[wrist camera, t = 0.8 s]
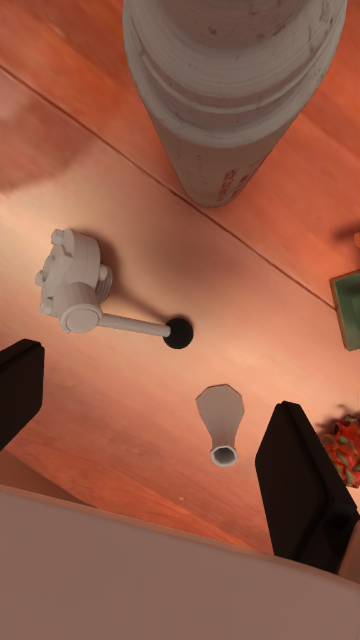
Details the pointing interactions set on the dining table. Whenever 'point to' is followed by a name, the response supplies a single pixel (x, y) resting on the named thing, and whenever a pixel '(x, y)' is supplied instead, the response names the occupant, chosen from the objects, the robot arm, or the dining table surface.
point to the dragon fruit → (345, 451)
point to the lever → (357, 239)
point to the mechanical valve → (91, 292)
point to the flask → (221, 421)
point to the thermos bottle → (227, 80)
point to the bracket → (348, 307)
